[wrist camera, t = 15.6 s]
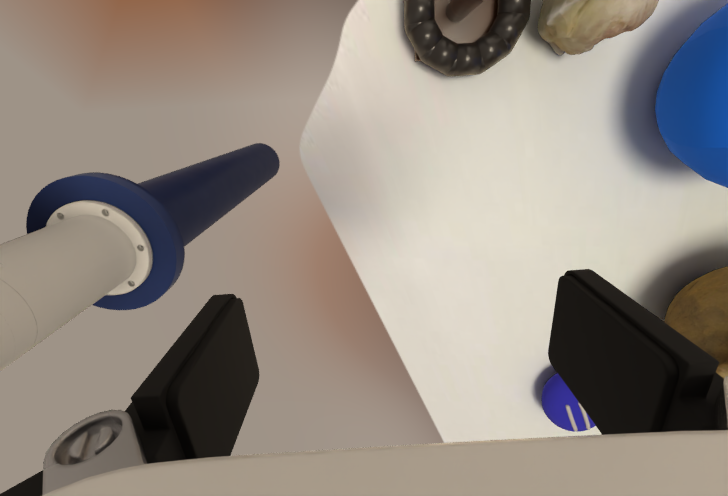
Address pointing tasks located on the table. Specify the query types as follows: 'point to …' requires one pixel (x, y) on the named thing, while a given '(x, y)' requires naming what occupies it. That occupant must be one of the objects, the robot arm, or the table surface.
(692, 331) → the clay pot
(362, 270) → the table surface
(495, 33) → the ring
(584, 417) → the decorative object
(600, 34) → the beige rounded lump
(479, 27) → the brown upright peg
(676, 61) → the vase
